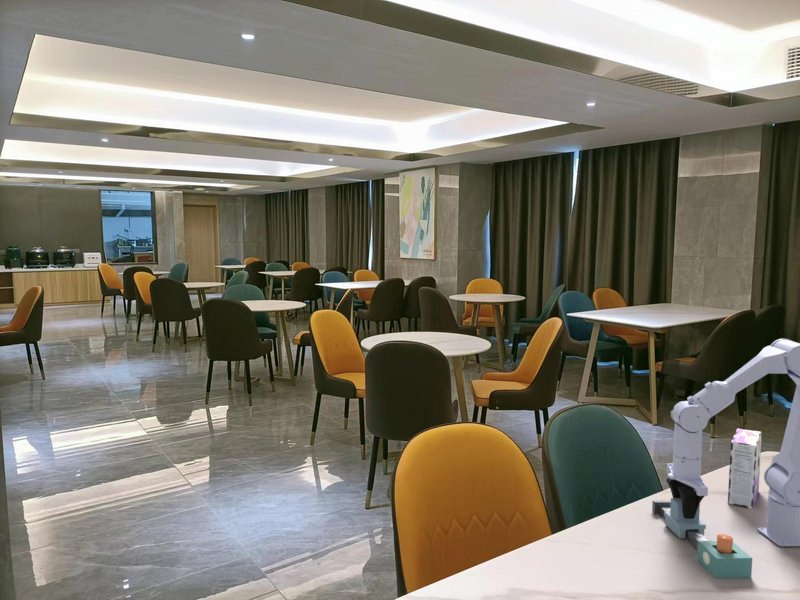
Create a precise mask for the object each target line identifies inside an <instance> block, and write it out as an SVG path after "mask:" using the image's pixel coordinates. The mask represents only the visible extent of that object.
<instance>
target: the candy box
mask: <svg viewBox="0 0 800 600" xmlns="http://www.w3.org/2000/svg"><path fill="white" fill-rule="evenodd" d="M761 449H762V431H758V430H753V429H752V430H751V429H743V428H736V431H735V433H734V435H733V437H732V440H731V441H730V455H729V458H730V459H729V472H728V474H729V475H728V492H727V493H728V494H727V504H729V505H732V506H736V507H739V508H744V509H749V510H753V509H754V507H755V504H756V501H757V497H758V495H759V494H758V493H759V490H760V475H761V471H760V470H761V452H762V450H761Z"/></svg>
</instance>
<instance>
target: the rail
mask: <svg viewBox="0 0 800 600" xmlns="http://www.w3.org/2000/svg"><path fill="white" fill-rule="evenodd" d="M651 504H652V505H651V507H652V508H651V509H652V510H651V512H652V514H653V515H659V516H661V517H662V518H663V519H664V520H665V516H664V512H669V511H670V509H671V499H665V500H664V499H657V500H656V499H654V500H652V503H651ZM684 539H685V540H687V541H688V543H690V544H691V545H692V546H693V547H694V548H695V549H696V550H697V551H698V541H710V540H709V539H708V538H707V537H705V535H704V536H703V535H702V534H701V533H700V532H699V531H697V530H696V529H688V530H686V534H685V538H684Z"/></svg>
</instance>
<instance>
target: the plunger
mask: <svg viewBox="0 0 800 600" xmlns="http://www.w3.org/2000/svg"><path fill="white" fill-rule="evenodd" d="M716 541H717V548H716V550H717V551H718V552H719V553H721V554H732V548H733V543H734V538H733V537H732V536H730V535H729V534H726V533H725V534H724V533H718V534H717V536H716Z"/></svg>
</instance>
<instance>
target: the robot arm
mask: <svg viewBox="0 0 800 600" xmlns="http://www.w3.org/2000/svg"><path fill="white" fill-rule="evenodd" d="M768 374H776V375H777V374H778V375H779V374H783V375H784V374H785V375H786V374H787V375H788V376H789V378H791V379H792V381H793V382H794V383H795V386H796V387H795V391H794V395H793V399H792V403H791V408H790V411H789V416H788V419H787V424H786V428H785V431H784V435H783V440H782V443H781V447H780V451H779V452H778V453H777V454H775V455H774V456H773V457H772V459H771V463H770V464H769V465H768V466H767V468H766V469H765V471H764V473H763V479H764V483H765V484H766V485H767V487H769V489H768V493H767V494H768V495H767V496H768V497H767V511H766V512H767V513H766V514H767V515H766V527H757V531H758V532H759V533H761V534H762V535H764V537H766V538H768V539H769V540H770V541H772V542H773V543H774V544H775V545H777V546H779V547H800V342H796V341H794V340H791V339H789V338H779V339H776V340H774V341H773V342H772V343H771V344H770V345H767V346H764V347H763V348H762V349H761V351H760V352H759V353H758V354H756V356H754V357H753V358H751V359H750V360H749V361H748V362H747V363H745V364H744V365H743V366H742V367H741V368H739V369H738V370H736V371H734V373H733V374H731V375H730V376H729V377H727V378H726V379H725V380H724V381H720V380H714V381H712V382H710V381H707V383H704V388H702V389H701V390H700V391H698V392H697V393H696V394H694V395H689V396H688V397H686V398H687V400H682V401H679V402H677V403H676V404H675V405H674V406H673V409H672V410H671V411H670V417H671V419H672V420H673V422H674V432H673V448H672V449H673V452H672V454H673V455H672V463H666V472H667V478H666V483H667V485H668V487H669V489H670V491H671V496H672V498H681V499H682V508H683V516H684V518H685V519H694V517H695V515H696V512H697V509H698V506H699V504H700V505H701V502H702V500H703V499H704V497H707V496H709V495H708V494H709V493H708V492H709V487H708V486H707V485H706V484H705V482H704V480H703V478H702V475H701V471H702V449H703V430H705V429H706V427H707V426H708V423H709V419H711V418H712V417H714V416H715V415H717V414H718V413H720V412H721V411H723V410H724V409H725V408H727V407H728V406H730V405H732V404H733V403H734V402H735V399H736V398H735V397H736V394H738V392H740V391H742V390H744V389H745V388H747V387H749V386H750V385H752V384H753V383H755V382H757V381H758V380H760V379H762V378H764V377H765V376H766V375H768Z"/></svg>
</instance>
